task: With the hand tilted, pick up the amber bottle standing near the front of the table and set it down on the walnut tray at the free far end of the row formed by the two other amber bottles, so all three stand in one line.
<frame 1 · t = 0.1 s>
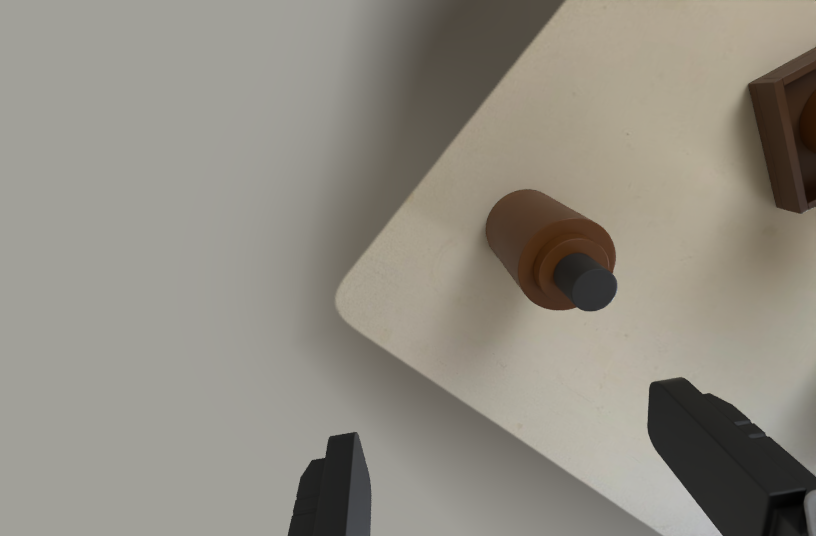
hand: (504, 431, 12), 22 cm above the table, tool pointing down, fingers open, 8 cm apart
bottle: (522, 226, 33), on the table
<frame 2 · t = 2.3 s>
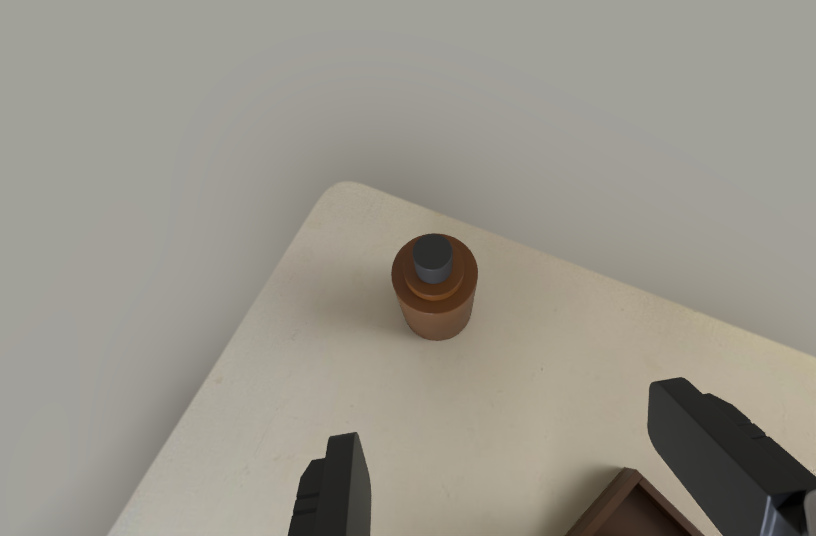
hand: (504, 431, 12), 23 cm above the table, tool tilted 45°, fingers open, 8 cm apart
bottle: (437, 307, 36), on the table
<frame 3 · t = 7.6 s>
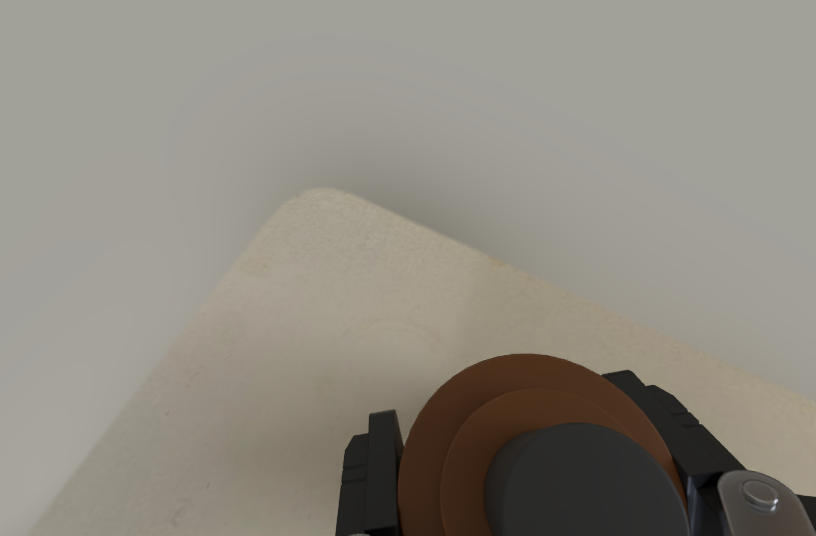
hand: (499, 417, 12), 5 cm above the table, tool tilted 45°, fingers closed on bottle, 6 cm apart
bottle: (494, 473, 16), on the table, touching gripper
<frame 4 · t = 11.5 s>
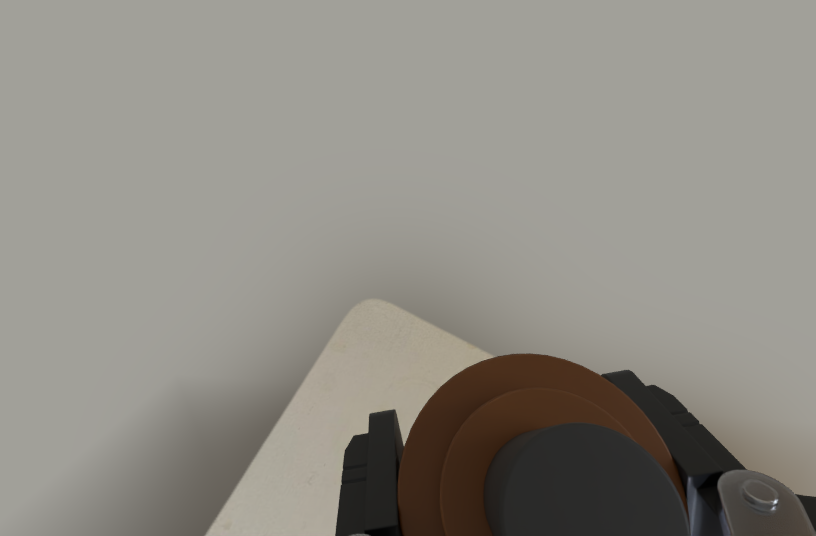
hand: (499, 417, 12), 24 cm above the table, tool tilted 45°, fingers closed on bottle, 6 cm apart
bottle: (494, 473, 16), point 19 cm above the table, touching gripper
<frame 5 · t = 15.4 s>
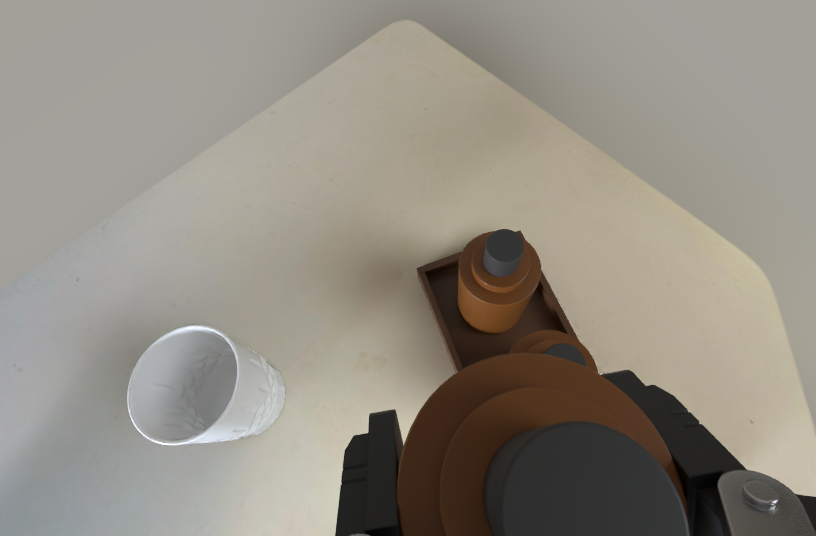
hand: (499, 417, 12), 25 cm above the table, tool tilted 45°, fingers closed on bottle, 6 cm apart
bottle mid: (529, 390, 35), point 1 cm above the table, touching tray
white cup: (250, 397, 38), on the table
bottle: (493, 473, 16), point 19 cm above the table, touching gripper
tray: (528, 390, 36), on the table
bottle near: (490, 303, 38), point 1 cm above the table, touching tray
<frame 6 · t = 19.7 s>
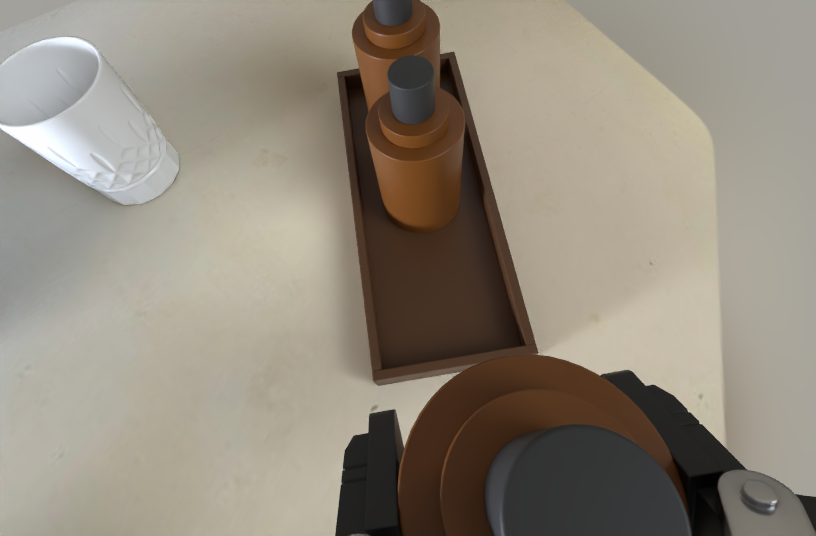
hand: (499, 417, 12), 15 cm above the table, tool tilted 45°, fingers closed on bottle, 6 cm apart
bottle mid: (421, 199, 32), point 1 cm above the table, touching tray
white cup: (143, 173, 37), on the table
bottle: (494, 474, 16), point 10 cm above the table, touching gripper
tray: (421, 203, 33), on the table
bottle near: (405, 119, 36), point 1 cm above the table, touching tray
when the fingers open (6 cm above the table, at t = 23.4 s): bottle stays where it is, resting on tray.
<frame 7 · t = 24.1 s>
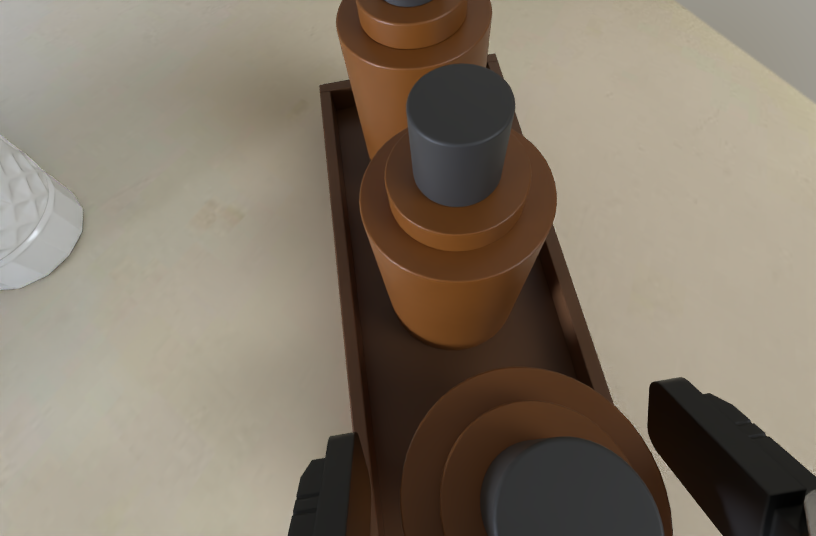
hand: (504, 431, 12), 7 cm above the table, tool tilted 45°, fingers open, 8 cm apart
bottle mid: (451, 290, 20), point 1 cm above the table, touching tray
white cup: (30, 238, 24), on the table
bottle: (491, 477, 17), point 1 cm above the table, touching tray
tray: (451, 294, 21), on the table
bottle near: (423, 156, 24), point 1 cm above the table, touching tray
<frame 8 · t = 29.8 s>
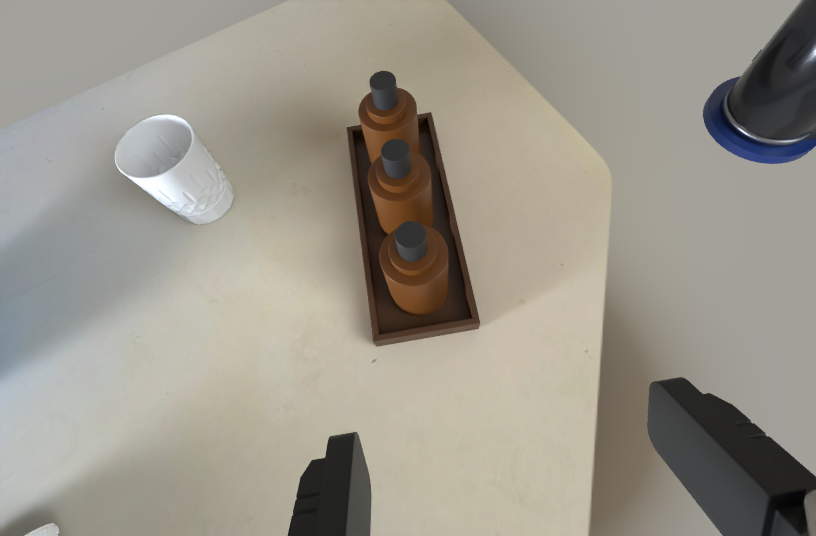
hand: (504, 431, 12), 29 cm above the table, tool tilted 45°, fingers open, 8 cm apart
bottle mid: (406, 220, 47), point 1 cm above the table, touching tray
white cup: (207, 201, 51), on the table
bottle: (419, 289, 43), point 1 cm above the table, touching tray
tray: (407, 223, 47), on the table
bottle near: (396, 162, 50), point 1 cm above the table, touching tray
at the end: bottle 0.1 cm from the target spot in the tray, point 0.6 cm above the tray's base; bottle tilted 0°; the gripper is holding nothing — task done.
